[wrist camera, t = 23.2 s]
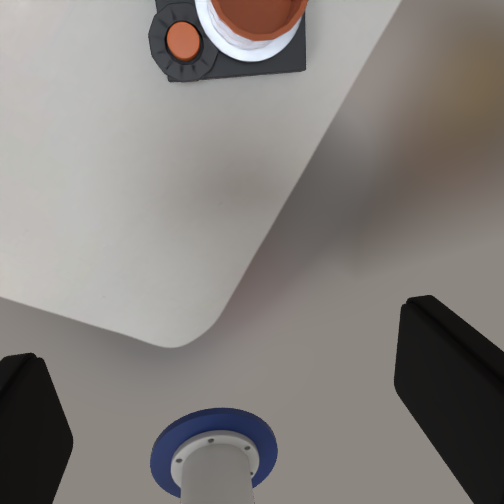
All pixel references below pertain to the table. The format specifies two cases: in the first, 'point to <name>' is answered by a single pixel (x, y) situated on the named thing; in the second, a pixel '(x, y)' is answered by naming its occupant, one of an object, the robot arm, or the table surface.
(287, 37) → the brushed metal disc
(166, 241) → the table surface
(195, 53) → the button
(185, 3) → the scale
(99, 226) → the table surface
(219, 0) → the cup
